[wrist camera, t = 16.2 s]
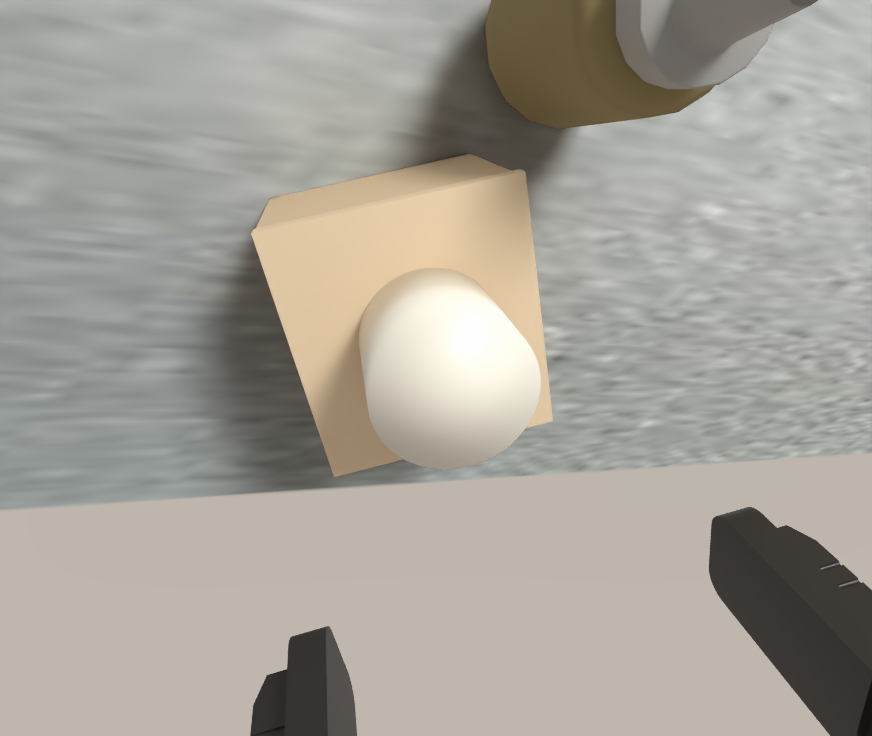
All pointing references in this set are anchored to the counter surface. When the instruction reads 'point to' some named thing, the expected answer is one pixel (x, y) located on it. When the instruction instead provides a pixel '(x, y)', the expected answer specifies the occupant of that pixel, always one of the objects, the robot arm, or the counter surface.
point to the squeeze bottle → (621, 54)
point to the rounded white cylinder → (445, 370)
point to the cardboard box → (376, 188)
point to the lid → (378, 265)
